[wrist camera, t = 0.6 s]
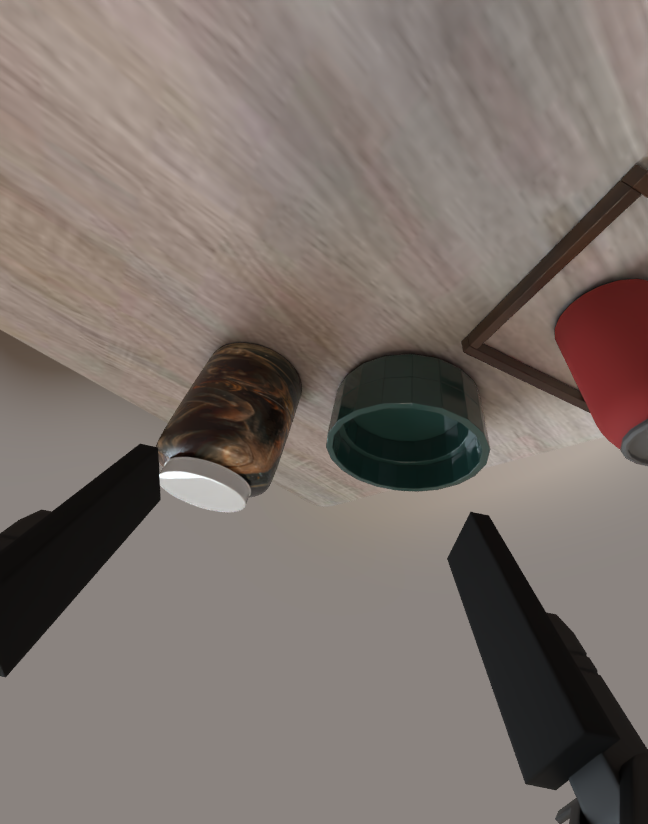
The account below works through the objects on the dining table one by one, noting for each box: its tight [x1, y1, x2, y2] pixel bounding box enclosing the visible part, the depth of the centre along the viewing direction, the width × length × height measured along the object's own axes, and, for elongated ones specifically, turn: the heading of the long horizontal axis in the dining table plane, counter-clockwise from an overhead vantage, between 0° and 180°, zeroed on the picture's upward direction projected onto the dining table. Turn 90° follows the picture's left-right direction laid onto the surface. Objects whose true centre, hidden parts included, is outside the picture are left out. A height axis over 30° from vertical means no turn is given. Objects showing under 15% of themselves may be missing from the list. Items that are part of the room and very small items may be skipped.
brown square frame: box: [462, 165, 648, 413], centre depth 23 cm, size 14×15×2 cm
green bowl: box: [326, 354, 490, 491], centre depth 33 cm, size 16×16×7 cm
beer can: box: [555, 279, 648, 466], centre depth 20 cm, size 7×7×12 cm
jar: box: [156, 343, 302, 512], centre depth 32 cm, size 12×12×15 cm
